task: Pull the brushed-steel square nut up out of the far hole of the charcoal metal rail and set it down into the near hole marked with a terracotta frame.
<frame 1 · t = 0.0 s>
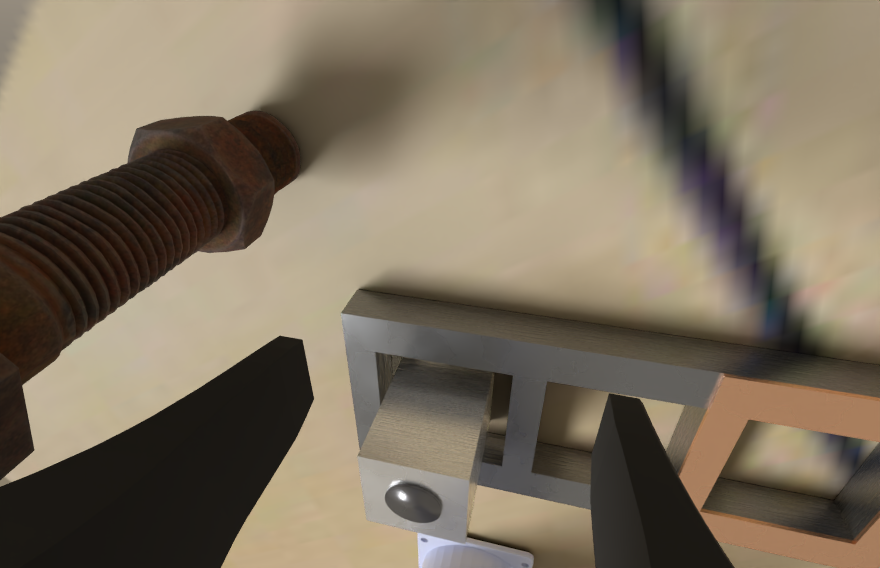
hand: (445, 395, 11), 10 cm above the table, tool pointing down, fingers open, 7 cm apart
bolt: (273, 145, 20), on the table
rail: (607, 411, 24), on the table
steel nut: (450, 382, 25), resting in rail
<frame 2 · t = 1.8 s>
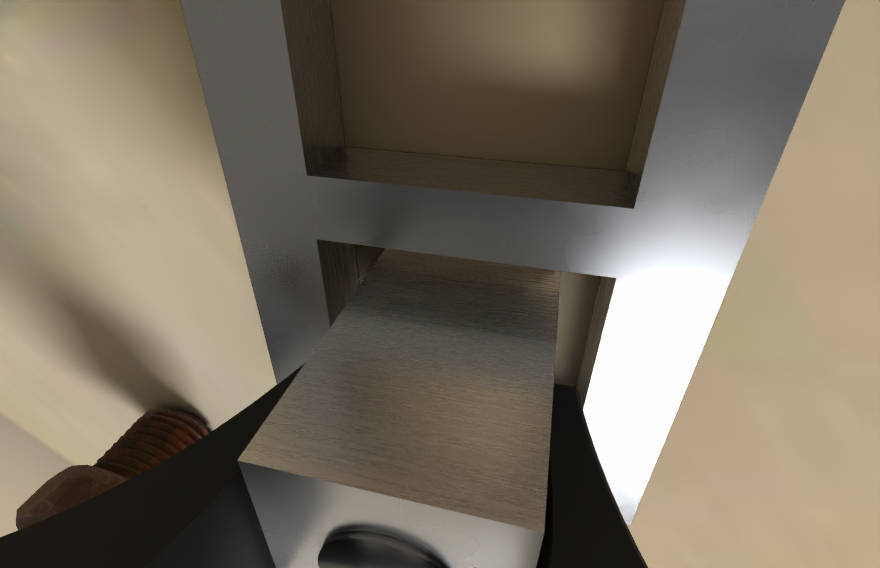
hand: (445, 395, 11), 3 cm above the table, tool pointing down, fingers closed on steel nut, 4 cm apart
bolt: (187, 423, 20), on the table
steel nut: (468, 321, 14), resting in rail, touching gripper
when the fingers open (4 cm above the table, at t = 6.7 s): steel nut stays where it is, resting in rail.
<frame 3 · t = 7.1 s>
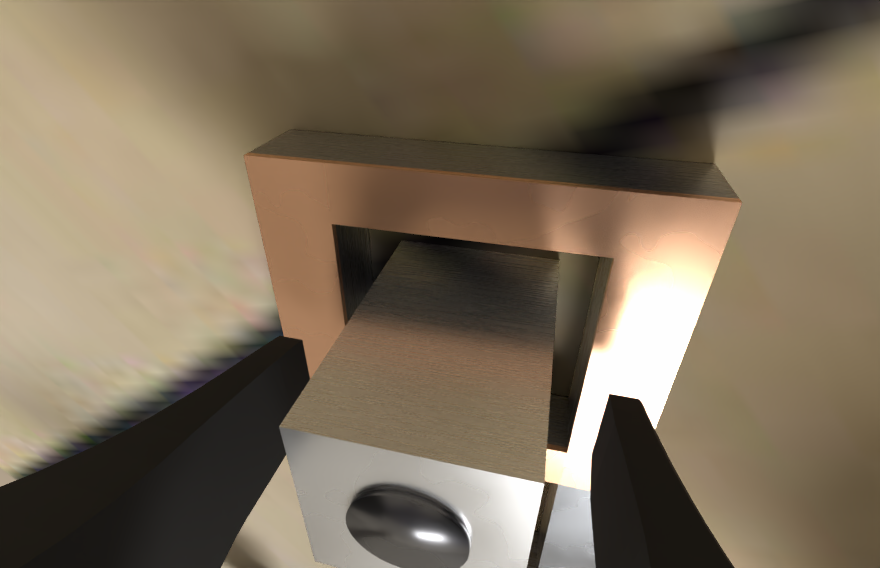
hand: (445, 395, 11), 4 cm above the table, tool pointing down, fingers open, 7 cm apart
rail: (465, 467, 19), on the table
steel nut: (474, 313, 15), resting in rail
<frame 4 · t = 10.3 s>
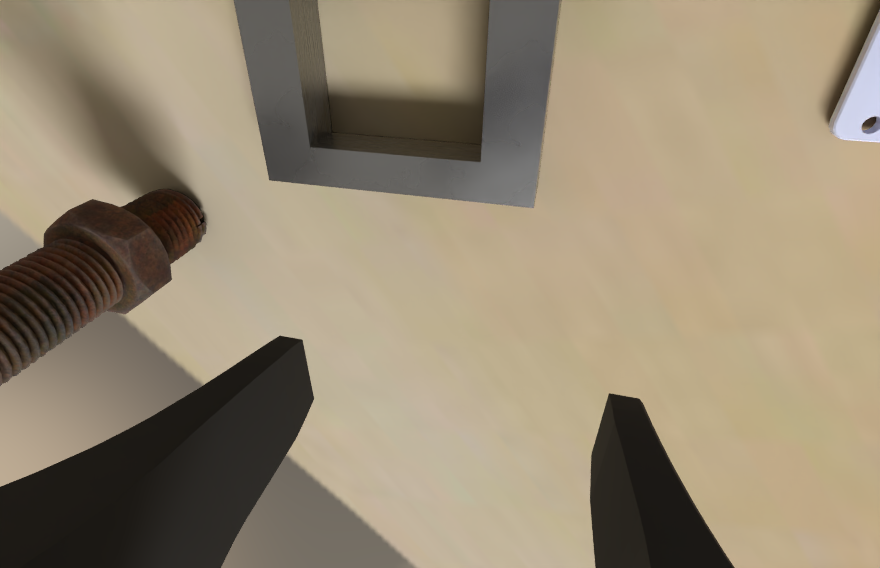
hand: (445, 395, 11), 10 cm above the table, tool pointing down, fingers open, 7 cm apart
bolt: (184, 213, 24), on the table
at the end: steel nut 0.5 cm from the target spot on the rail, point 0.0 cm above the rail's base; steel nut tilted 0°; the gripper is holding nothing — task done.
